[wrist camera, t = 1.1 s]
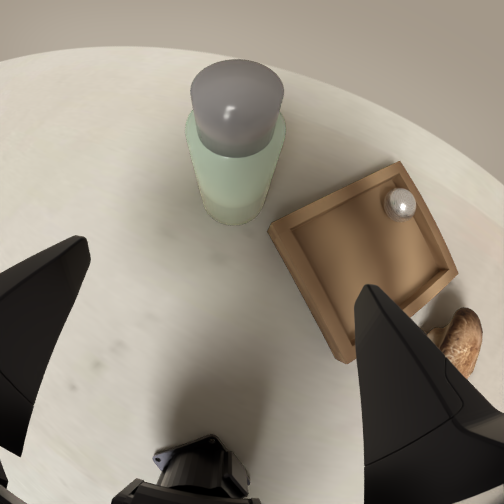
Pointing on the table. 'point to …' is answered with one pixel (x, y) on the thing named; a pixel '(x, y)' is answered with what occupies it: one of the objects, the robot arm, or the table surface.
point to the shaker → (235, 137)
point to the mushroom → (460, 340)
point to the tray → (362, 254)
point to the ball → (399, 205)
